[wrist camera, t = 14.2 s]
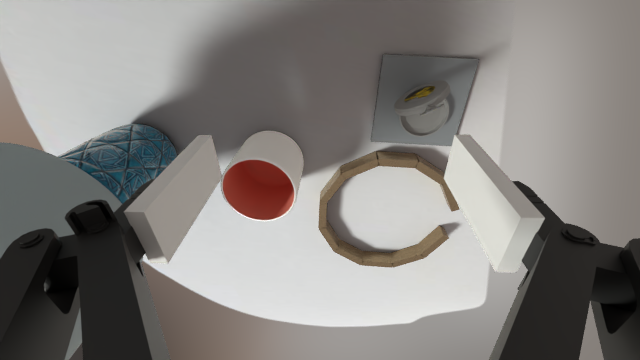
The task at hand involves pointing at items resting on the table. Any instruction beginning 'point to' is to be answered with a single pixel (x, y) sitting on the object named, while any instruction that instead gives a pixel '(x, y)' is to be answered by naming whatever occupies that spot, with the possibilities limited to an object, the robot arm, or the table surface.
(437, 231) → the c ring
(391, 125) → the coaster
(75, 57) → the table surface
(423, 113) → the pocket watch
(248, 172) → the cup
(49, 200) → the lamp
